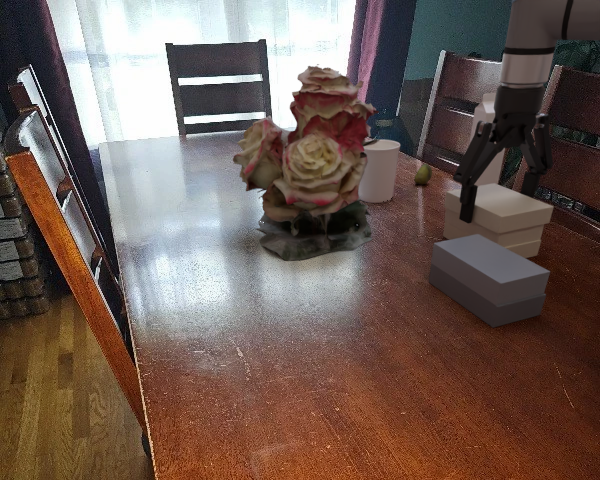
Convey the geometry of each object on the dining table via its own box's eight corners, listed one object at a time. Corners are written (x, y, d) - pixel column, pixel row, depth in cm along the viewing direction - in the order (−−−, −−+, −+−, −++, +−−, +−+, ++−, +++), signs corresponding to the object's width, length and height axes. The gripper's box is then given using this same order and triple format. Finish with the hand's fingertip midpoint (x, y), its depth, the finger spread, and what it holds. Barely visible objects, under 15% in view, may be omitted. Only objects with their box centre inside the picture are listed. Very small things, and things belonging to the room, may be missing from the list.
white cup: (391, 205, 120) (396, 150, 112) (351, 202, 123) (353, 148, 115) (399, 193, 127) (403, 140, 120) (360, 190, 130) (363, 138, 122)
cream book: (549, 223, 92) (554, 206, 90) (498, 234, 89) (501, 216, 87) (491, 198, 104) (494, 182, 102) (444, 207, 101) (446, 191, 99)
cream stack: (537, 255, 96) (546, 223, 92) (494, 265, 93) (501, 233, 89) (481, 227, 108) (487, 198, 104) (441, 235, 105) (446, 206, 101)
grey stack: (540, 314, 79) (553, 272, 74) (492, 327, 76) (503, 284, 72) (470, 272, 91) (478, 233, 87) (428, 282, 89) (433, 243, 84)
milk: (460, 196, 124) (476, 91, 110) (483, 194, 125) (503, 89, 111) (470, 203, 119) (489, 95, 106) (494, 201, 120) (516, 93, 106)
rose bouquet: (236, 222, 114) (219, 62, 95) (361, 209, 118) (368, 54, 100) (251, 269, 95) (233, 80, 76) (400, 252, 99) (419, 69, 80)
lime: (413, 186, 131) (416, 166, 128) (412, 181, 134) (415, 161, 131) (431, 187, 130) (434, 166, 127) (430, 181, 134) (432, 161, 131)
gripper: (563, 75, 89) (532, 199, 103) (444, 88, 82) (427, 219, 96) (598, 80, 84) (560, 210, 97) (473, 94, 77) (451, 232, 90)
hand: (494, 215), depth 96 cm, fingers open, 13 cm apart
